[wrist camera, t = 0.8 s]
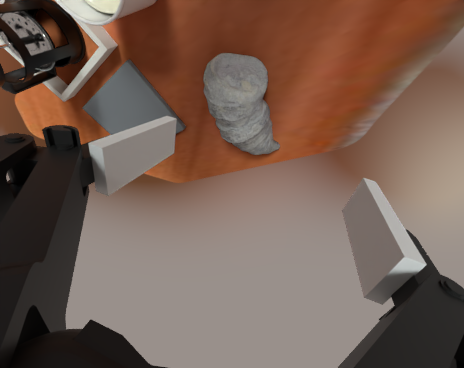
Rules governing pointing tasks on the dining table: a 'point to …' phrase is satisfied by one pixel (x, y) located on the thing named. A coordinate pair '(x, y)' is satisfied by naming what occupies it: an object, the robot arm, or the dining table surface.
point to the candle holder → (102, 9)
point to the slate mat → (128, 102)
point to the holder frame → (91, 66)
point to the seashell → (240, 102)
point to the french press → (36, 43)
